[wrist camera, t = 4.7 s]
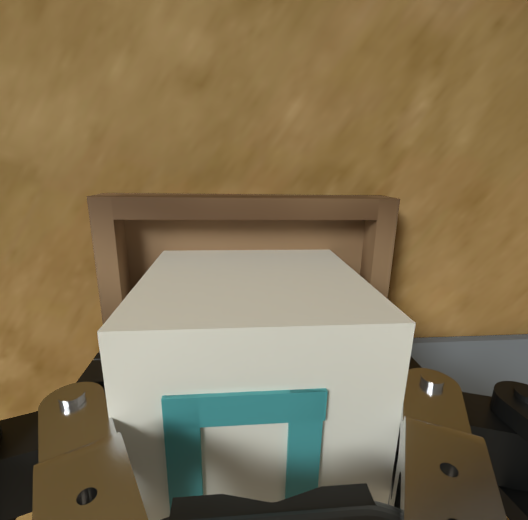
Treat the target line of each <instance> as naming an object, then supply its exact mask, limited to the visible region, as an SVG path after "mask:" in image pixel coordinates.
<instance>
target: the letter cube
mask: <svg viewBox="0 0 528 520" xmlns="http://www.w3.org/2000/svg"><path fill="white" fill-rule="evenodd" d="M415 324H416V323H415V322H414V321H413V320H412V319H410V318H409V317H408V316H407V315H406V314H405V313H403V312H402V311H401V310H400V309H399V308H398V307H396V306H395V305H394V304H393V303H392V302H391V301H389V300H388V299H387V298H386V297H385V296H383V295H382V294H381V293H380V292H379V291H378V290H376V289H375V288H374V287H373V286H372V285H371V284H369V283H368V282H367V281H366V280H365V279H364V278H362V277H361V276H360V275H359V274H358V273H357V272H355V271H354V270H353V269H352V268H351V267H350V266H348V265H347V264H346V263H345V262H344V261H343V260H341V259H340V258H339V257H338V256H337V255H335V254H334V253H333V252H332V251H331V250H183V251H163V252H162V253H161V254H160V256H159V257H158V258H157V259H156V261H155V262H154V263H153V264H152V265H151V267H150V268H149V269H148V270H147V272H146V273H145V274H144V275H143V276H142V278H141V279H140V280H139V281H138V283H137V284H136V285H135V286H134V287H133V289H132V290H131V291H130V292H129V294H128V295H127V296H126V297H125V299H124V300H123V301H122V302H121V303H120V305H119V306H118V307H117V308H116V310H115V311H114V312H113V313H112V314H111V316H110V317H109V318H108V319H107V321H106V322H105V323H104V324H103V326H102V327H101V328H100V329H99V330H98V332H97V334H98V341H99V349H100V356H101V364H102V371H103V379H104V387H105V394H106V402H107V409H108V417H109V418H112V419H113V422H114V426H115V429H116V432H117V433H118V432H120V433H121V435H122V438H123V441H124V444H125V447H126V451H127V454H128V457H129V460H130V463H131V466H132V470H133V473H134V476H135V479H136V482H137V485H138V489H139V492H140V495H141V498H142V501H143V505H144V508H145V511H146V514H147V517H148V520H161V519H164V518H166V517H169V516H170V510H171V505H172V499H173V497H186V496H200V495H213V494H226V495H232V496H237V497H243V498H249V499H254V500H260V501H265V502H278V501H281V500H284V499H287V498H289V497H292V496H295V495H298V494H301V493H304V492H307V491H309V490H312V489H315V488H318V487H321V486H334V485H348V484H361V483H367V486H368V488H369V490H370V493H371V495H372V497H373V500H374V501H377V502H382V503H385V504H388V500H389V494H390V486H391V480H392V474H393V467H394V461H395V454H396V448H397V441H398V435H399V428H400V420H401V413H402V407H403V402H404V396H405V389H406V383H407V376H408V370H409V363H410V356H411V350H412V343H413V337H414V330H415Z"/></svg>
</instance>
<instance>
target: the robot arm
mask: <svg viewBox="0 0 528 520" xmlns="http://www.w3.org/2000/svg"><path fill="white" fill-rule="evenodd" d="M30 512H32V520H148V517H147V514H146V511H145V508H144V505H143V501H142V498H141V495H140V492H139V489H138V485H137V482H136V479H135V476H134V473H133V470H132V466H131V463H130V460H129V457H128V454H127V451H126V447H125V444H124V441H123V438H122V435H121V433H120V432H118V433H117V432H116V429H115V426H114V422H113V419H112V418H109V417H108V409H107V402H106V394H105V387H104V379H103V371H102V364H101V356H100V351H99V353H97V355H96V356H95V358H94V360H92V362H91V363H90V364H89V366H88V367H87V369H86V370H85V371H84V373H83V374H82V376H81V377H80V378H79V380H78V381H77V382H76V383H73V384H69V385H66V386H64V387H61V388H59V389H57V390H55V391H54V392H52V393H50V394H49V395H48V396H47V397H45V398H44V399H43V401H42V402H41V403H40V405H39V408H38V411H36V412H33V413H29V414H25V415H21V416H17V417H13V418H9V419H5V420H1V421H0V520H15V519H16V518H17V517H18V516H21V515H24V514H27V513H30ZM506 516H507V517H508V518H509V519H510V520H528V384H524V383H520V382H515V381H501V382H498V383H496V384H495V386H494V389H493V393H492V397H491V396H485V395H479V394H472V393H466V392H462V391H461V388H460V386H459V384H458V383H457V382H456V381H455V380H454V379H452V378H451V377H449V376H447V375H446V374H444V373H441V372H439V371H436V370H432V369H427V368H422V367H421V366H420V365H419V364H418V363H417V362H416V361H415V360H414V359H413V358H412V357H411V356H410V363H409V370H408V376H407V383H406V389H405V396H404V402H403V407H402V413H401V420H400V428H399V435H398V441H397V448H396V454H395V461H394V467H393V474H392V480H391V486H390V496H389V505H388V504H385V503H382V502H377V501H374V500H373V497H372V495H371V493H370V490H369V488H368V486H367V483H361V484H348V485H334V486H321V487H318V488H315V489H312V490H309V491H307V492H304V493H301V494H298V495H295V496H292V497H289V498H287V499H284V500H281V501H278V502H265V501H260V500H254V499H249V498H243V497H237V496H232V495H226V494H213V495H200V496H186V497H173V499H172V505H171V510H170V516H169V517H166V518H164V519H161V520H507V518H506Z"/></svg>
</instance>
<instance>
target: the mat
mask: <svg viewBox="0 0 528 520" xmlns="http://www.w3.org/2000/svg"><path fill="white" fill-rule="evenodd" d="M411 357H412V358H413V359H414V360H415V361H416V362H417V363H418V364H419V365H420V366H421V367H422V368H427V369H432V370H436V371H439V372H441V373H444V374H446V375H447V376H449V377H451V378H452V379H454V380H455V381H456V382H457V383H458V384H459V386H460V388H461V391H462V392H466V393H472V394H479V395H485V396H491V397H492V393H493V389H494V386H495V384H496V383H498V382H501V381H515V382H520V383H524V384H528V334H523V335H493V336H462V337H431V338H413V343H412V350H411ZM389 496H390V494H389ZM388 505H389V500H388Z"/></svg>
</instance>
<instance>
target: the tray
mask: <svg viewBox="0 0 528 520" xmlns="http://www.w3.org/2000/svg"><path fill="white" fill-rule="evenodd" d="M87 202H88V210H89V218H90V226H91V233H92V241H93V249H94V257H95V265H96V273H97V281H98V289H99V297H100V305H101V313H102V321H103V324H104V323H105V322H106V321H107V319H108V318H109V317H110V316H111V314H112V313H113V312H114V311H115V310H116V308H117V307H118V306H119V305H120V303H121V302H122V301H123V300H124V299H125V297H126V296H127V295H128V294H129V292H130V291H131V290H132V289H133V287H134V286H135V285H136V284H137V283H138V281H139V280H140V279H141V278H142V276H143V275H144V274H145V273H146V272H147V270H148V269H149V268H150V267H151V265H152V264H153V263H154V262H155V261H156V259H157V258H158V257H159V256H160V254H161V253H162V252H163V251H183V250H331V251H332V252H333V253H334V254H335V255H337V256H338V257H339V258H340V259H341V260H343V261H344V262H345V263H346V264H347V265H348V266H350V267H351V268H352V269H353V270H354V271H355V272H357V273H358V274H359V275H360V276H361V277H362V278H364V279H365V280H366V281H367V282H368V283H369V284H371V285H372V286H373V287H374V288H375V289H376V290H378V291H379V292H380V293H381V294H382V295H383V296H385V297H386V298H387V299H388V291H389V283H390V275H391V267H392V259H393V251H394V243H395V235H396V227H397V219H398V211H399V203H400V199H397V198H392V197H387V196H376V195H266V194H156V193H102V194H97V195H92V196H87Z"/></svg>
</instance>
